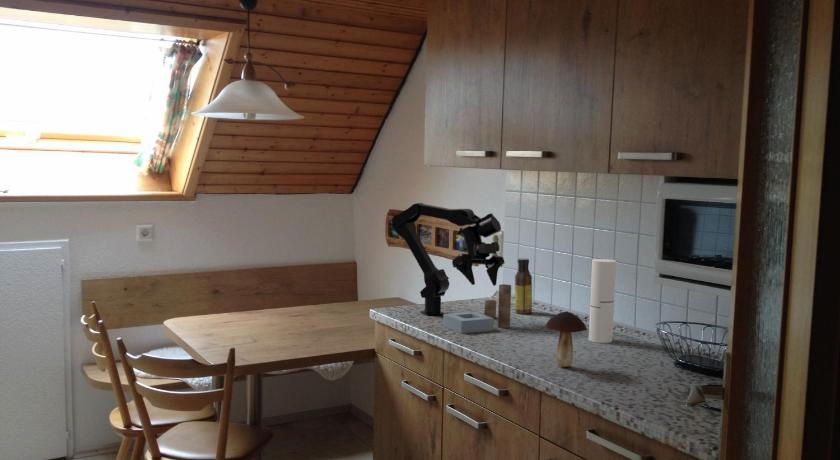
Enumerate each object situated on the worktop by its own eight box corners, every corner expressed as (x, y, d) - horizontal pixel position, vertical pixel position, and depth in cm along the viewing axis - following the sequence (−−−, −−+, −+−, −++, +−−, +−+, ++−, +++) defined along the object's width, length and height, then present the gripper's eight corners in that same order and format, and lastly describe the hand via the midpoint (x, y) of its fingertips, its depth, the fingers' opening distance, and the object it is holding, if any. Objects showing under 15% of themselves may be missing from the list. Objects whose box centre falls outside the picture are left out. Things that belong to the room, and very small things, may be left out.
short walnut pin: (482, 316, 268) (482, 300, 267) (491, 316, 270) (492, 299, 269) (488, 319, 264) (488, 302, 264) (497, 318, 266) (498, 301, 266)
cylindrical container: (612, 343, 232) (616, 262, 230) (588, 342, 233) (592, 261, 231) (611, 338, 239) (615, 259, 237) (588, 336, 240) (591, 258, 238)
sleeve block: (443, 325, 252) (443, 313, 251) (474, 323, 257) (474, 311, 257) (461, 333, 241) (461, 321, 241) (493, 330, 247) (493, 318, 246)
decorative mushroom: (567, 360, 211) (569, 306, 210) (594, 369, 202) (596, 314, 200) (535, 364, 206) (537, 309, 205) (561, 374, 196) (563, 317, 195)
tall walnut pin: (495, 326, 253) (496, 284, 252) (505, 325, 255) (506, 284, 253) (502, 328, 249) (503, 286, 248) (512, 327, 251) (513, 286, 250)
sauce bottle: (531, 311, 280) (533, 257, 278) (532, 314, 273) (534, 260, 272) (513, 310, 280) (515, 257, 279) (514, 314, 274) (515, 259, 272)
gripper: (465, 230, 249) (476, 274, 243) (508, 234, 260) (520, 276, 253) (446, 245, 257) (457, 287, 251) (489, 248, 268) (500, 289, 261)
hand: (484, 284), depth 254 cm, fingers open, 9 cm apart
